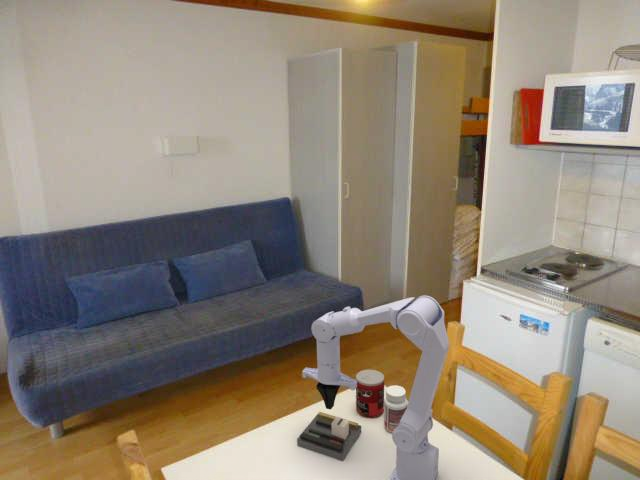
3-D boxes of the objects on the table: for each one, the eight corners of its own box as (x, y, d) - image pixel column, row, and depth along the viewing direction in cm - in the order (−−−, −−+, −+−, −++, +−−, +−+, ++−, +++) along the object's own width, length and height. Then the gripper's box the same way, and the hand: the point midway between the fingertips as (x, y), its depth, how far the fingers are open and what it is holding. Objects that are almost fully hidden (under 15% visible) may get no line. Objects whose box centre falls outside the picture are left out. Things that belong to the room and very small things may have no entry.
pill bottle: (411, 428, 127) (412, 392, 124) (394, 437, 124) (395, 400, 121) (396, 417, 132) (396, 381, 129) (379, 425, 129) (379, 389, 126)
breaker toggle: (348, 434, 123) (348, 420, 121) (344, 440, 120) (344, 426, 119) (336, 430, 124) (336, 416, 123) (331, 436, 122) (331, 422, 121)
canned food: (352, 405, 138) (351, 372, 135) (377, 399, 140) (377, 367, 137) (362, 421, 131) (362, 386, 128) (388, 415, 133) (388, 380, 130)
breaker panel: (361, 432, 126) (361, 422, 126) (342, 461, 116) (342, 451, 115) (318, 419, 132) (318, 409, 131) (297, 445, 122) (296, 435, 121)
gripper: (361, 358, 118) (361, 405, 122) (310, 346, 124) (312, 391, 128) (350, 372, 112) (350, 421, 116) (297, 359, 118) (299, 406, 122)
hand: (329, 406), depth 121 cm, fingers closed
